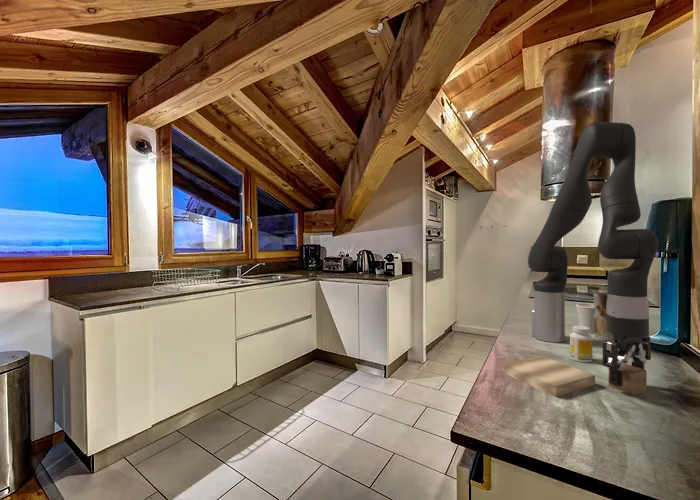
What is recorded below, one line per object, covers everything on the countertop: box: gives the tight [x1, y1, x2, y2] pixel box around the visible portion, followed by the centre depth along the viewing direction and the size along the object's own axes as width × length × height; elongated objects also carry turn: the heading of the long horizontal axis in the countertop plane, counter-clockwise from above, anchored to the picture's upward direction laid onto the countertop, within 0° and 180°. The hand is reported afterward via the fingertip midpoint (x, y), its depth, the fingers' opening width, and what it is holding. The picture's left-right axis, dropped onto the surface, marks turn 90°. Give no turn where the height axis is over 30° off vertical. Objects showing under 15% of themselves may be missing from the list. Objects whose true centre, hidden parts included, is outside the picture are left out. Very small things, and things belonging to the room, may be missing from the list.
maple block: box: [504, 355, 596, 398], centre depth 80 cm, size 14×14×3 cm
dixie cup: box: [575, 302, 595, 334], centre depth 119 cm, size 8×8×10 cm
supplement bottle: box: [569, 325, 593, 363], centre depth 92 cm, size 5×5×10 cm
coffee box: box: [593, 291, 613, 342], centre depth 108 cm, size 9×6×16 cm
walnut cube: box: [607, 362, 648, 396], centre depth 74 cm, size 5×5×5 cm
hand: (627, 381), depth 74 cm, fingers open, 8 cm apart
